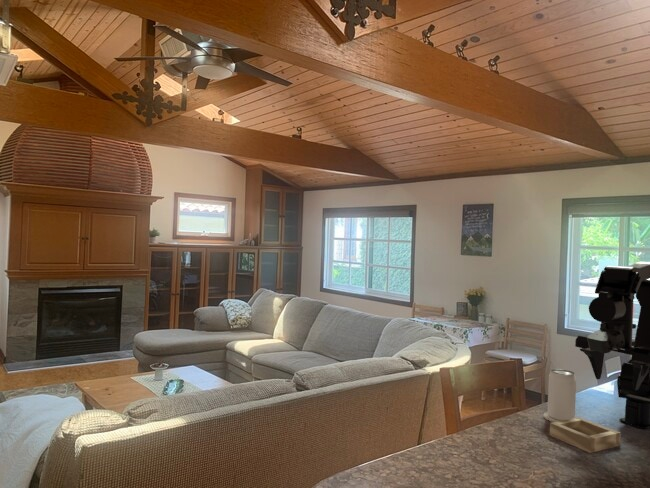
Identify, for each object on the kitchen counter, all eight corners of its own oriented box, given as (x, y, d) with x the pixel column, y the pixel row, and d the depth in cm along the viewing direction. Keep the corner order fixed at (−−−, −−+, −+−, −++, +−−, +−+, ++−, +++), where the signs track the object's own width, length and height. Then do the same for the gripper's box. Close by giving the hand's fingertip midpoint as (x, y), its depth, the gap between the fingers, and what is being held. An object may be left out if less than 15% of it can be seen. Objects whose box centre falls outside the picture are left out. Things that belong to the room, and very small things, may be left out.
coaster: (557, 412, 135) (557, 410, 135) (584, 422, 128) (584, 420, 128) (537, 416, 132) (537, 413, 132) (563, 426, 125) (563, 424, 125)
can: (577, 423, 126) (579, 376, 126) (550, 420, 127) (552, 373, 127) (570, 414, 132) (572, 369, 132) (544, 411, 133) (546, 367, 133)
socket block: (578, 429, 123) (579, 417, 123) (620, 445, 114) (620, 432, 114) (549, 435, 119) (550, 422, 118) (590, 452, 109) (590, 439, 109)
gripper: (561, 314, 122) (559, 377, 123) (637, 327, 106) (634, 399, 106) (590, 312, 127) (588, 373, 128) (668, 324, 111) (665, 394, 111)
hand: (616, 384), depth 118 cm, fingers open, 9 cm apart
